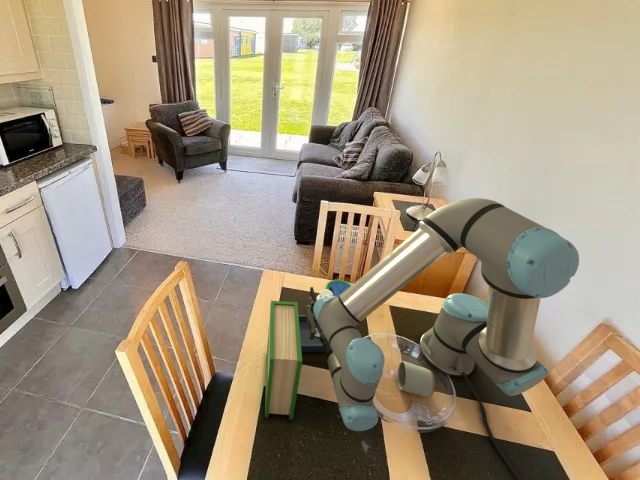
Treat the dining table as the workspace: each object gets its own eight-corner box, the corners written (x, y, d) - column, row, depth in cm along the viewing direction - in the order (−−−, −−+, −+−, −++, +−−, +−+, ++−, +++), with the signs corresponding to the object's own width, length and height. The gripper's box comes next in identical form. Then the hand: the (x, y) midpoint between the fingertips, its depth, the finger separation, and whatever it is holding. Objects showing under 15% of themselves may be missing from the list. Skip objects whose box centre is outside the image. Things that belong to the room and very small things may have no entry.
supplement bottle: (327, 326, 95) (331, 303, 91) (310, 318, 98) (314, 295, 93) (333, 314, 99) (337, 291, 95) (317, 307, 102) (320, 284, 97)
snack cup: (333, 330, 109) (338, 309, 104) (311, 310, 116) (314, 290, 111) (361, 309, 117) (366, 289, 112) (339, 292, 124) (343, 272, 120)
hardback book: (292, 419, 83) (302, 361, 72) (264, 417, 83) (270, 359, 72) (290, 357, 99) (297, 302, 88) (266, 356, 99) (271, 300, 88)
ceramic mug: (430, 404, 88) (438, 387, 84) (399, 396, 90) (406, 379, 86) (422, 369, 97) (429, 352, 94) (394, 362, 99) (400, 346, 95)
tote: (328, 352, 101) (329, 345, 100) (290, 352, 101) (291, 346, 99) (319, 320, 112) (320, 314, 111) (285, 321, 111) (286, 315, 110)
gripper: (303, 367, 81) (291, 298, 102) (373, 366, 82) (346, 298, 103) (307, 348, 78) (293, 281, 98) (379, 347, 79) (351, 281, 99)
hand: (320, 290), depth 100 cm, fingers closed on supplement bottle, 5 cm apart
